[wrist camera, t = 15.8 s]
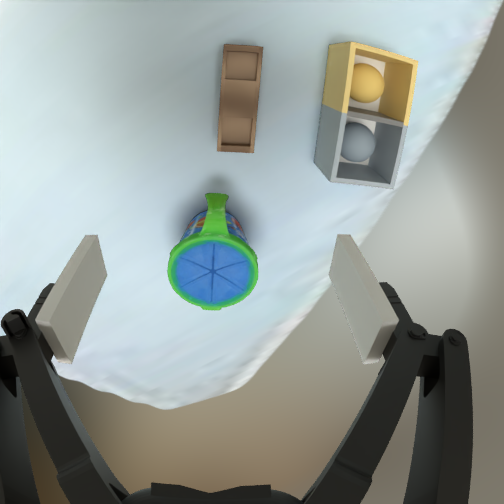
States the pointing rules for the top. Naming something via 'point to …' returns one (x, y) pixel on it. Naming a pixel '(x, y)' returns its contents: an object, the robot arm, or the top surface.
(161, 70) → the top surface
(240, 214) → the top surface
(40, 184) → the top surface
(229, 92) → the rack
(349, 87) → the tube block
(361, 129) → the slate ball
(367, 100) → the ochre ball
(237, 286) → the snack cup
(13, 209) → the top surface
